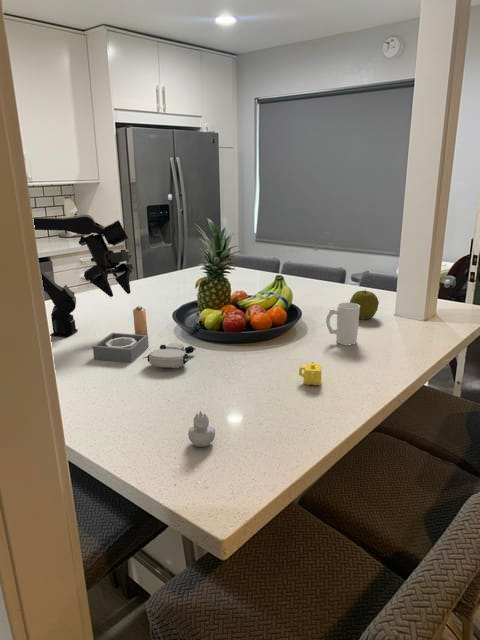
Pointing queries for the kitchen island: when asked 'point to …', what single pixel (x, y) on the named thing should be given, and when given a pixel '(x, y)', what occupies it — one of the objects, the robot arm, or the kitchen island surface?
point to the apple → (365, 303)
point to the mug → (345, 322)
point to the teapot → (311, 373)
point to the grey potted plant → (201, 431)
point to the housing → (120, 347)
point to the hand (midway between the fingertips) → (120, 295)
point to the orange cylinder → (140, 321)
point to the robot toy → (170, 355)
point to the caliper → (197, 317)
